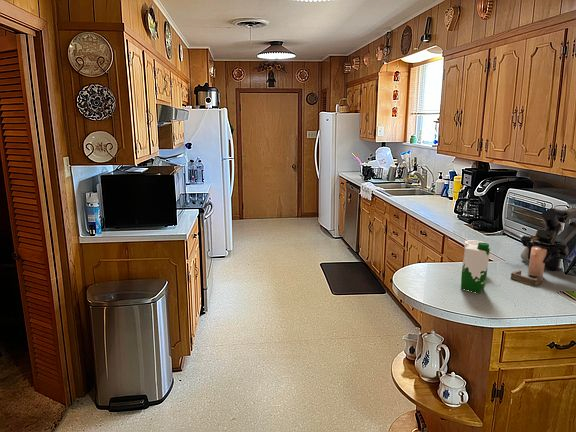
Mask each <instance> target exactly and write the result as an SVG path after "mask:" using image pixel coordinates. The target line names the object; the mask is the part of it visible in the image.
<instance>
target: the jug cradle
mask: <svg viewBox="0 0 576 432" xmlns="http://www.w3.org/2000/svg"><path fill="white" fill-rule="evenodd" d="M543 277H544V275H543V276H539V277H538V276H536V277H535V278H531V277H529V276H528V277H527V276H524V275H522V270H521V269H518V270H515V271H513V272H511V273H510V279H511V280H514V281H517V282H521V283H524V284H527V285H530V286H537V285H539V284H541V283H543Z"/></svg>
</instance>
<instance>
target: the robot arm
mask: <svg viewBox="0 0 576 432" xmlns="http://www.w3.org/2000/svg"><path fill="white" fill-rule="evenodd" d="M570 208H571V209H570ZM570 208H568V209H558V208H557V209H556V208H554V207H550V208H549V209H546V210H544V211H542V212H541V218H542V221H543V224H544V226H545V228H544V229H541V228H537V230H536V233H535V235H534V236H537V240H539V241H534V240H533V239H532V237H529V236H530V235H522V236H520V237H521V239H520V238H519V240H520V242H521V244H522V246H524V247H528V249H529V252H528V259H530V255H531V248H532V247H534V246H535V245H536V246H541V247H543V248H546V249H547V254H546V257H545V259H544V261H543V263H545V266H544V269H545V270H549V271H552V272H554V271H555V272H556V271H563V268H562V267H561V261H562V260H566V257H568V255H569V252H570V251H569V248H568V245H567V243H568V242H569V241H570V240H571V239H572V238H573V237H574V236H575V235H576V221H575V222H572V223H570V224H568V226H567V225H566V227H564V229H562V228H563V226H562V224H567V222H568V221H569V219H572V218H576V208H574V207H570Z"/></svg>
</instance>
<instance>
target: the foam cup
mask: <svg viewBox="0 0 576 432" xmlns="http://www.w3.org/2000/svg"><path fill="white" fill-rule="evenodd" d="M478 243H486V242H484V241H481V240H473V239H472V240H471V239H470V240H464V249H465V248H466V247H467V246H469V245H470V244H473V245H478Z"/></svg>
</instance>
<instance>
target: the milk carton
mask: <svg viewBox="0 0 576 432" xmlns="http://www.w3.org/2000/svg"><path fill="white" fill-rule="evenodd" d="M490 252H491V247H490V244H489V243H487V242H485V243H478V245H473V244H470V245H469V246H467V247H466V248H465V247H464V253H463V258H462V259H463V261H462V269H461V276H460V277H461V279H460V281H461V282H460V283H461V284H460V290H461V289H465V290H469V291H472V292H471V293H473V292H476V293H479V294H481V292H483V291H484V289H485V287H486V286H485V285H486V282H487V281H486V280H487V274H488V266H489V261H490V260H489V259H490V254H491V253H490ZM465 290H464V291H465ZM469 291H468V292H469ZM476 293H475V294H476Z"/></svg>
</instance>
